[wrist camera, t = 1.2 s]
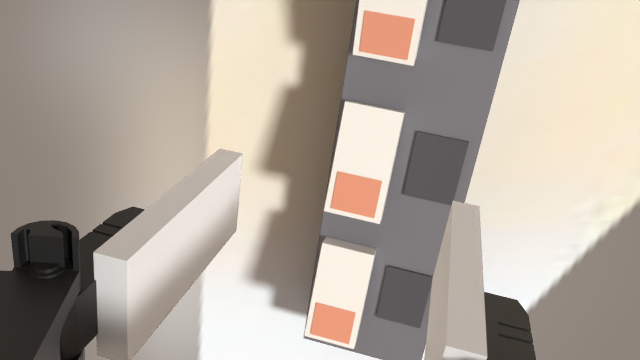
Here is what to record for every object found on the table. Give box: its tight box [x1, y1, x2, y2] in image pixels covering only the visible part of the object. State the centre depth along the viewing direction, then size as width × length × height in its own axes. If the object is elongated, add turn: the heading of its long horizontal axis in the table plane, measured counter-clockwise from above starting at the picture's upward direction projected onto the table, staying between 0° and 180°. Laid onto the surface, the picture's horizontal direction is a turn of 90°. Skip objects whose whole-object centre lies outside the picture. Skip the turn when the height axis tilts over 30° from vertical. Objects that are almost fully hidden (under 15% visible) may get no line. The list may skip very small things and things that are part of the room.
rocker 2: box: [324, 100, 405, 224], centre depth 35 cm, size 7×4×2 cm, turn 172°
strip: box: [304, 0, 520, 360], centre depth 36 cm, size 40×9×4 cm, turn 172°
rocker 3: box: [304, 237, 376, 349], centre depth 39 cm, size 7×4×2 cm, turn 172°
